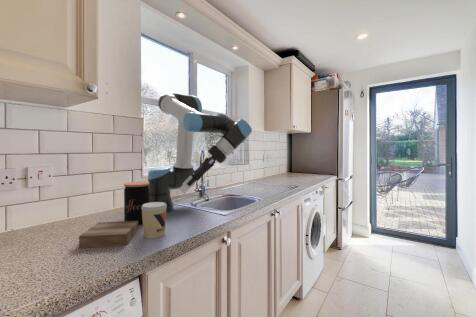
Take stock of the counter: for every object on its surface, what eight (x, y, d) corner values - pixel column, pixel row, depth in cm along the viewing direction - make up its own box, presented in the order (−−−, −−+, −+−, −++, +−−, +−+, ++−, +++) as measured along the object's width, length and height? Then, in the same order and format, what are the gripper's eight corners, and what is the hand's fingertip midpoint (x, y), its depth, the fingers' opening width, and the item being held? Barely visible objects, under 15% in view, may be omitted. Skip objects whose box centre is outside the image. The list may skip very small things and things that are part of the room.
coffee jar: (119, 223, 103) (118, 183, 102) (138, 217, 112) (138, 180, 112) (135, 227, 98) (135, 185, 97) (154, 220, 108) (154, 182, 107)
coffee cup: (158, 240, 85) (158, 208, 84) (136, 237, 86) (136, 206, 86) (171, 231, 94) (171, 202, 93) (150, 229, 96) (150, 201, 95)
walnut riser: (99, 231, 92) (99, 222, 92) (138, 230, 94) (138, 220, 94) (79, 247, 77) (78, 236, 77) (126, 245, 80) (126, 234, 79)
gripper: (231, 157, 81) (188, 201, 79) (224, 156, 106) (191, 189, 104) (216, 142, 80) (172, 186, 78) (212, 145, 105) (179, 178, 103)
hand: (183, 188), depth 91 cm, fingers open, 13 cm apart
